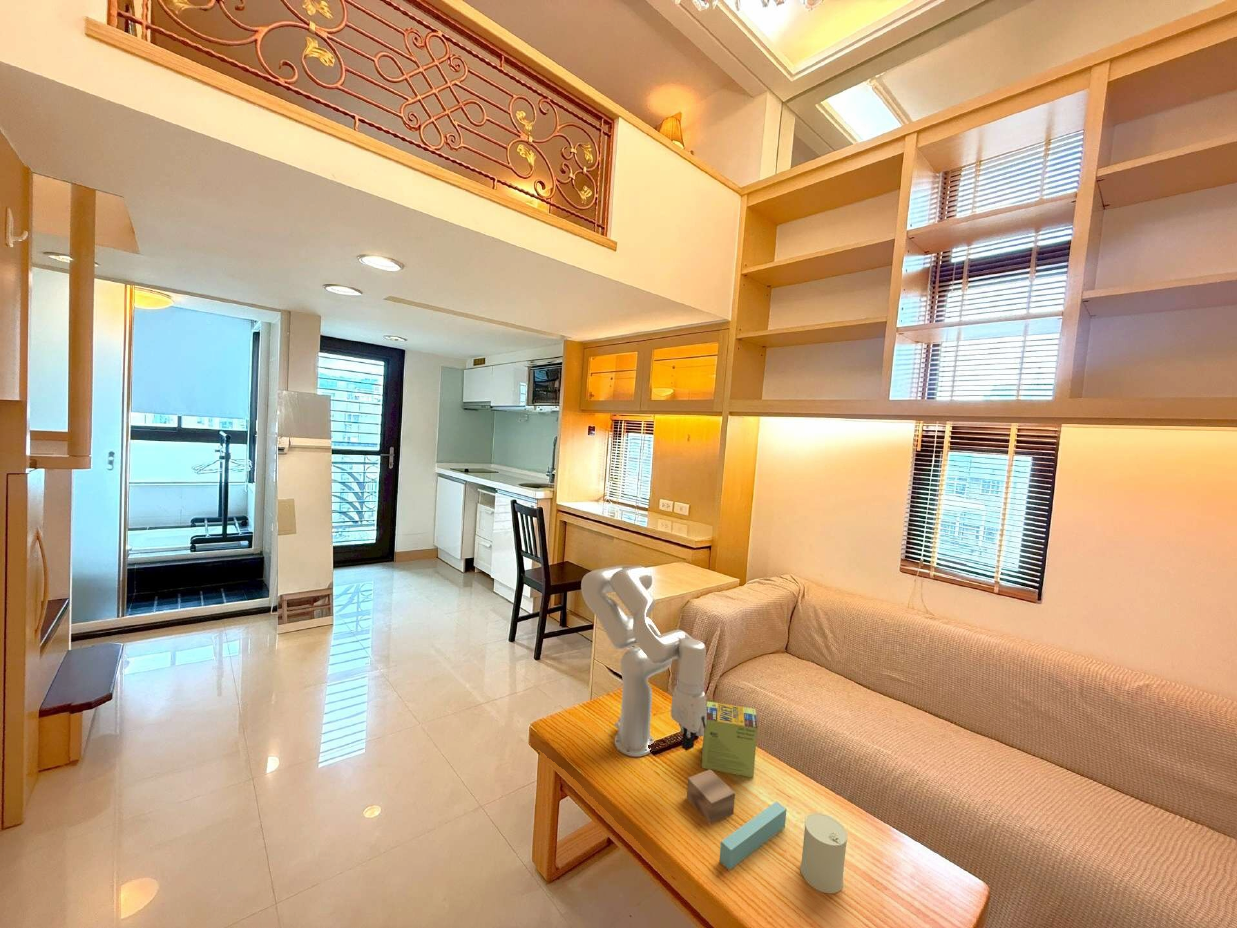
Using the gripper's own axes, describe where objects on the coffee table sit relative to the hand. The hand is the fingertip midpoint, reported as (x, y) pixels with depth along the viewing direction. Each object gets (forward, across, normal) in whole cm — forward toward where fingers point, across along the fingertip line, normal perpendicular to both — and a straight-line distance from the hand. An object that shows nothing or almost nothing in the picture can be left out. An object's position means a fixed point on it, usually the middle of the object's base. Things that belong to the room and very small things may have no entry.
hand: (687, 747), depth 140 cm
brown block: (+12, +9, 0) cm, 15 cm away
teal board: (+12, +24, 0) cm, 26 cm away
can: (+12, +38, +6) cm, 40 cm away
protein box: (+11, 0, +18) cm, 21 cm away
